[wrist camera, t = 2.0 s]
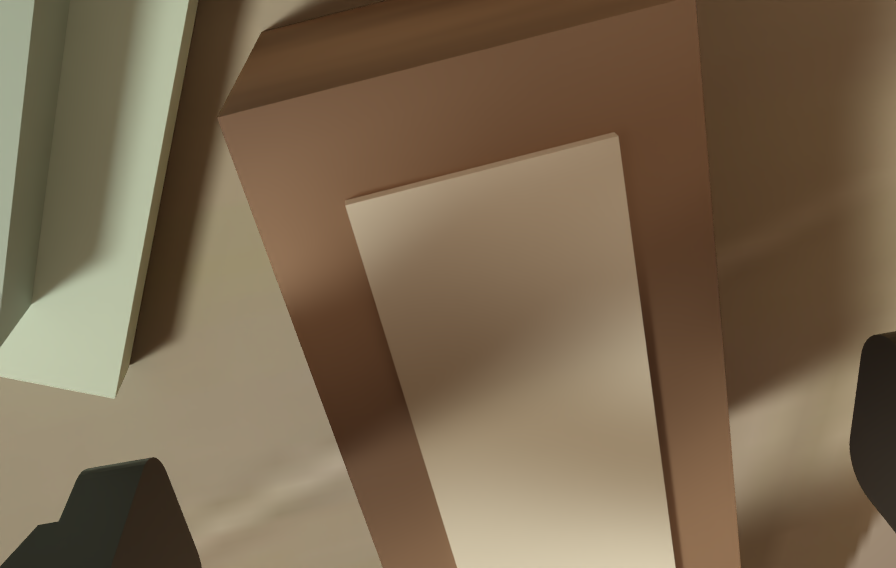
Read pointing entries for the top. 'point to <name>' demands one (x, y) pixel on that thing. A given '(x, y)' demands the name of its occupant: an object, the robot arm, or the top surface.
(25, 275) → the pale green tray
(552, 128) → the brown block
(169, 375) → the top surface
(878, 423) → the robot arm
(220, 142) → the top surface
